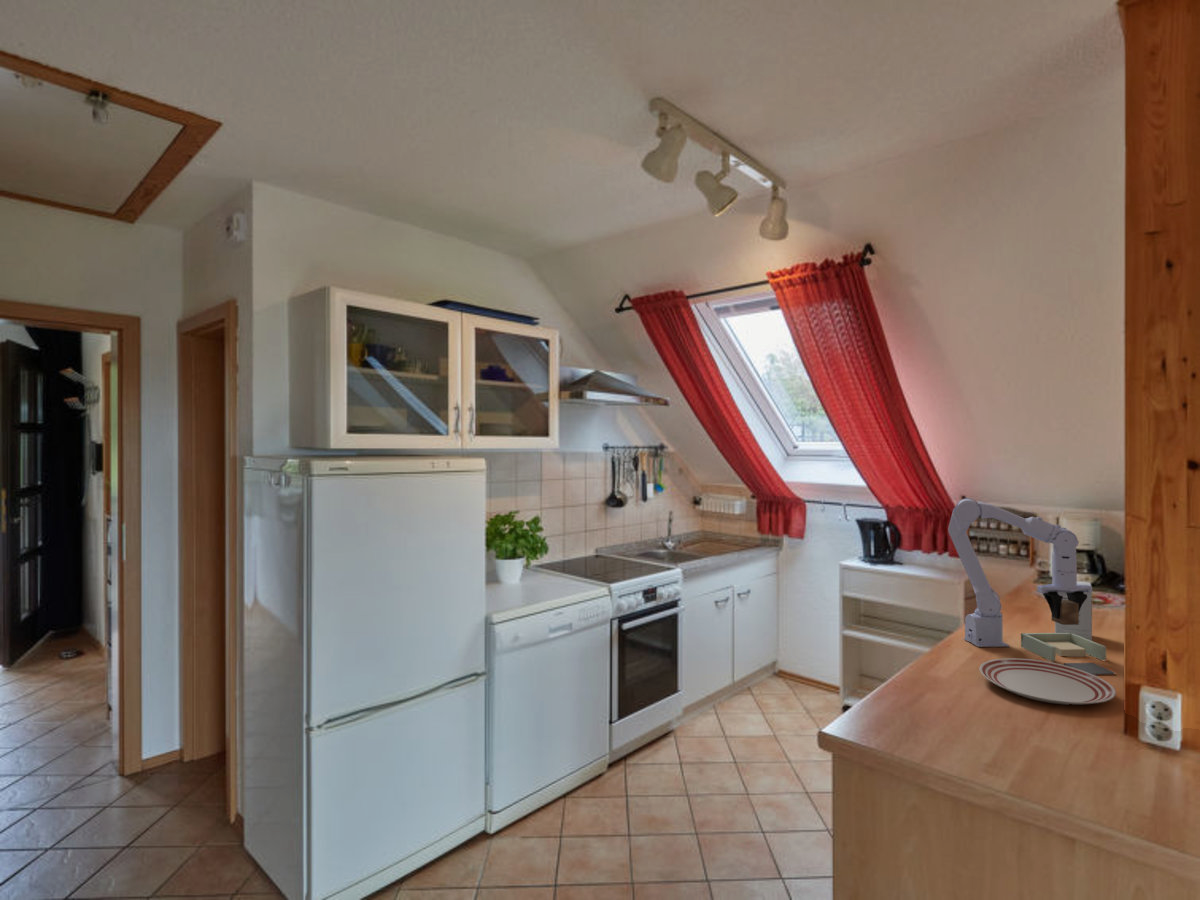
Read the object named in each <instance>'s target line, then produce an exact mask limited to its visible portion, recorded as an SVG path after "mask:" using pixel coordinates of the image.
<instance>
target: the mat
mask: <svg viewBox="0 0 1200 900" xmlns="http://www.w3.org/2000/svg"><path fill="white" fill-rule="evenodd" d="M1063 665H1066V666H1069V667H1073V668H1076V669H1079V670H1082V671H1085V672H1088V673H1090V674H1093V675H1094V674H1096V675H1095V676H1100V675H1099V674H1114V673H1115V672H1114V671H1112V670H1109V669H1107V668H1105V667H1103V666H1101V665H1099V664H1097V663H1095V662H1063ZM1097 674H1098V675H1097Z"/></svg>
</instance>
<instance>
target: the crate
mask: <svg viewBox="0 0 1200 900" xmlns="http://www.w3.org/2000/svg"><path fill="white" fill-rule="evenodd" d="M1020 647H1021V648H1023V649H1025V650H1027V651H1029V652H1031V653H1034V654H1035V655H1037V656H1040V657H1041V656H1042V658H1043V657H1044V659H1045V658H1046V659H1045V660H1048V661H1049V662H1052V663H1054V662H1053V661H1055V662H1056V655H1057V656H1059V657H1061V656H1067V657H1087V656H1090V655H1091V656H1090V657H1092V656H1093V657H1092V658H1094V657H1096V658H1098V659H1097V660H1099V659H1100V660H1099V661H1101V660H1106V661H1107V646H1105V645H1103V644H1101V643H1098V642H1095V641H1093V640H1092V641H1091V640H1088V639H1086V638H1083V637H1081V636H1078V635H1076V634H1073V633H1055V632H1031V633H1029V632H1025V633H1024V632H1021V633H1020ZM1087 654H1088V655H1087ZM1096 658H1095V659H1096Z"/></svg>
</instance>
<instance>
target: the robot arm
mask: <svg viewBox="0 0 1200 900" xmlns="http://www.w3.org/2000/svg"><path fill="white" fill-rule="evenodd" d="M979 517H980V518H981V519H983V520H984V519H985V520H986V519H995V520H997V521H1001V522H1003V523H1005V524H1008V525H1012V526H1013V527H1014V526H1015V527H1017V528H1020V529H1021V531H1022V533H1023V534H1024V535H1025V536H1028V537H1031V538H1033V539H1036V540H1038V541H1039V542H1043V543H1045V544H1052V554H1051V559H1052V560H1051V561H1052V562H1051V565H1052V567H1051V568H1052V569H1051V570H1052V571H1051V572H1052V574H1051V579H1052V580H1051V581H1052V582H1051V583H1049V584H1048V583H1047V584H1038V585H1036V592H1037V593H1040V594H1042V596H1043V598H1044V599H1045V600H1046V602H1047V604H1048V607H1049V610H1050V613H1051V618H1052V617H1055V618H1060V606H1061V601H1062V598H1063V596H1060V595H1059V594H1058V593H1066V594H1067V597H1068V600H1069V601H1072V602H1075V603H1078V604H1079V611H1080V608H1081V606H1082V604H1083V603H1084V601H1085V600H1086V599H1087V594H1084V592H1087V593H1092V594H1093V586H1092V585H1091V586H1089V585H1077V581H1078V580H1077V579H1078V578H1077V577H1078V573H1077V571H1078V570H1077V569H1078V567H1077V565H1078V564H1077V561H1078V560H1077V547H1078V545H1079V543H1080V542H1079V540H1078V537H1077V535H1076V534H1075V533H1074V532H1072V530H1069V529H1068V528H1066V527H1062V526H1061V525H1060V524H1053V523H1050V522H1047V521H1045V520H1043V517H1041V516H1037V517H1035V516H1030V517H1027V518H1026V517H1025V518H1024V517H1022V516H1020V515H1018V514H1015V513H1012V512H1010V511H1008V510H1005V509H1003V508H1001V507H998V506H995V505H993V504H990V503H987V502H983V501H980V500H977V501H976V500H974V499H972V498H968V497H967V498H963V499H960V500H959V501H958V502H957V503H956V505H955V506H954V508H953V509H952V514H951V517H950V521H949V525H948V529H947V530H948V532H947V533H948V534H949V536H950V540H951V541H952V544H953V546H954V548H955V550H956V553H957V555H958V557H959V560H960V561H961V564H962V566H963V568H964V570H965V573H966V575H967V577H968V579H969V581H970V584H971V586H972V588H973V589H972V590H973V591H974V595H975V600H976V609H974V613H969V614H967V615H966V616H965V618H964V637H963V639H964V640H965V641H967V642H969V643H970V642H971V644H972V645H974V646H976V647H978V648H979V647H980V648H981V647H983V648H984V647H985V648H986V647H987V648H988V647H990V648H995V647H998V648H999V647H1001V648H1004V647H1010V644H1009V643H1007V642H1004V640H1003V637H1004V636H1003V634H1004V632H1003V630H1004V629H1003V613H1002V612H1001V610H1002V603H1001V600H1000V599H1001V598H1000V595H998V593H997V592H996V591H995V590H994V589H993V588H992V586H991V584H990V583H989V581H988V578H987V576H986V574H985V572H984V569H983V568H982V565H981V563H980V560H979V557H978V556H977V554H976V551H975V548H974V547H973V544H972V543H971V541H970V538H969V536H968V533H967V531H968V530H969V528H970V526H971V524H972V523H974V522H975V521H976V520H977V519H978V518H979Z"/></svg>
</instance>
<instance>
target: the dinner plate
mask: <svg viewBox="0 0 1200 900" xmlns="http://www.w3.org/2000/svg"><path fill="white" fill-rule="evenodd" d="M979 672H980V674H981V675H982V676H983V677H984V678H985V679H987V680H988V681H990V682H991V683H993V684H994V685H996V686H997V687H1000V688H1002V689H1003V690H1006V691H1009V692H1011V693H1013V694H1015V695H1017V696H1020V697H1023V698H1026V699H1029V700H1034V701H1038V702H1042V703H1049V704H1056V705H1057V704H1058V705H1069V704H1072V705H1091V704H1092V705H1093V704H1101V703H1105V702H1108V701H1111V700H1113V698H1115V696H1116V693H1117V692H1116V689H1115V688H1114V687H1113V685H1112V684H1110V683H1109V682H1108V681H1106V680H1105V679H1103V678H1101V677H1099V676H1098V675H1093V674H1090V673H1088V672H1085V671H1082V670H1079V669H1076V668H1073V667H1069V666H1066V665H1064V664H1060V663H1056V662H1052V661H1046V660H1039V659H1033V658H1032V659H1031V658H1017V657H1016V658H1014V657H1012V658H1007V657H1006V658H997V659H990V660H987V661H985V662H983V663H981V664H980V666H979Z"/></svg>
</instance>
